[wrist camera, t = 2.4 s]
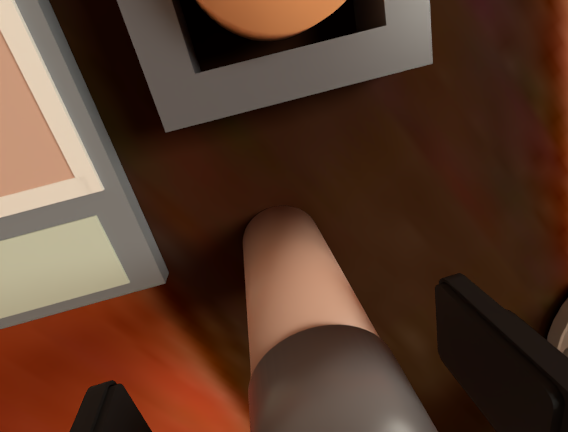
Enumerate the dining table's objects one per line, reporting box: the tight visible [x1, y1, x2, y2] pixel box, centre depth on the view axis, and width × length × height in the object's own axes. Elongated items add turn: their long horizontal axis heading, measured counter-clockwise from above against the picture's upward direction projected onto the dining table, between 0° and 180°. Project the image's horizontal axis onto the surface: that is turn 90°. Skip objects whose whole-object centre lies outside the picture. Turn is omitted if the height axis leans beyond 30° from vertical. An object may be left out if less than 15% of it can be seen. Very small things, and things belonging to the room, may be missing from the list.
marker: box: [243, 206, 438, 432], centre depth 12 cm, size 4×4×12 cm
